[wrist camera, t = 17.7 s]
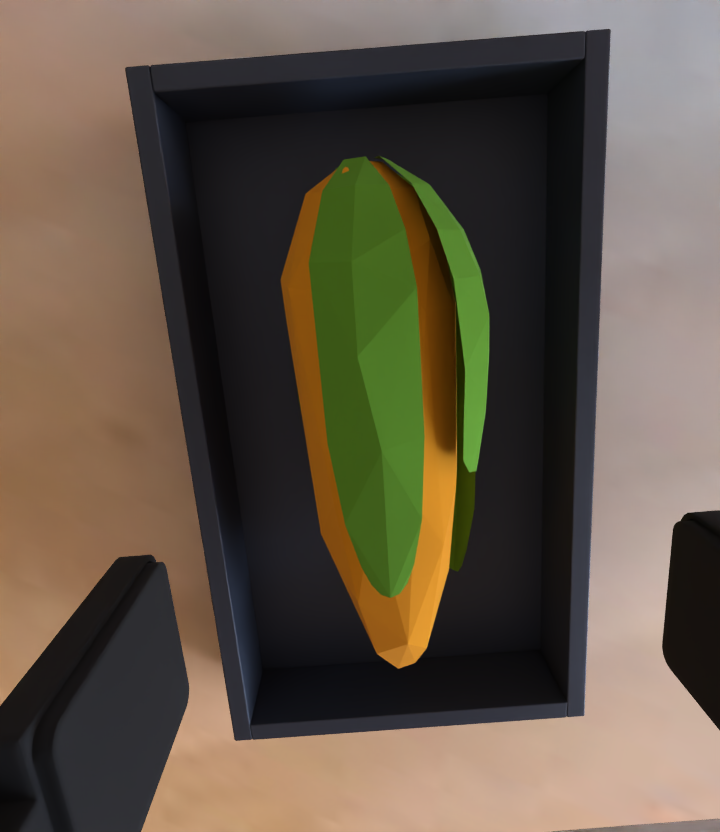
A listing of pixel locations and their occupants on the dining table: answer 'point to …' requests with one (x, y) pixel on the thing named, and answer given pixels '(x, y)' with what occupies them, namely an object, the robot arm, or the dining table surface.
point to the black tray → (276, 383)
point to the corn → (388, 389)
